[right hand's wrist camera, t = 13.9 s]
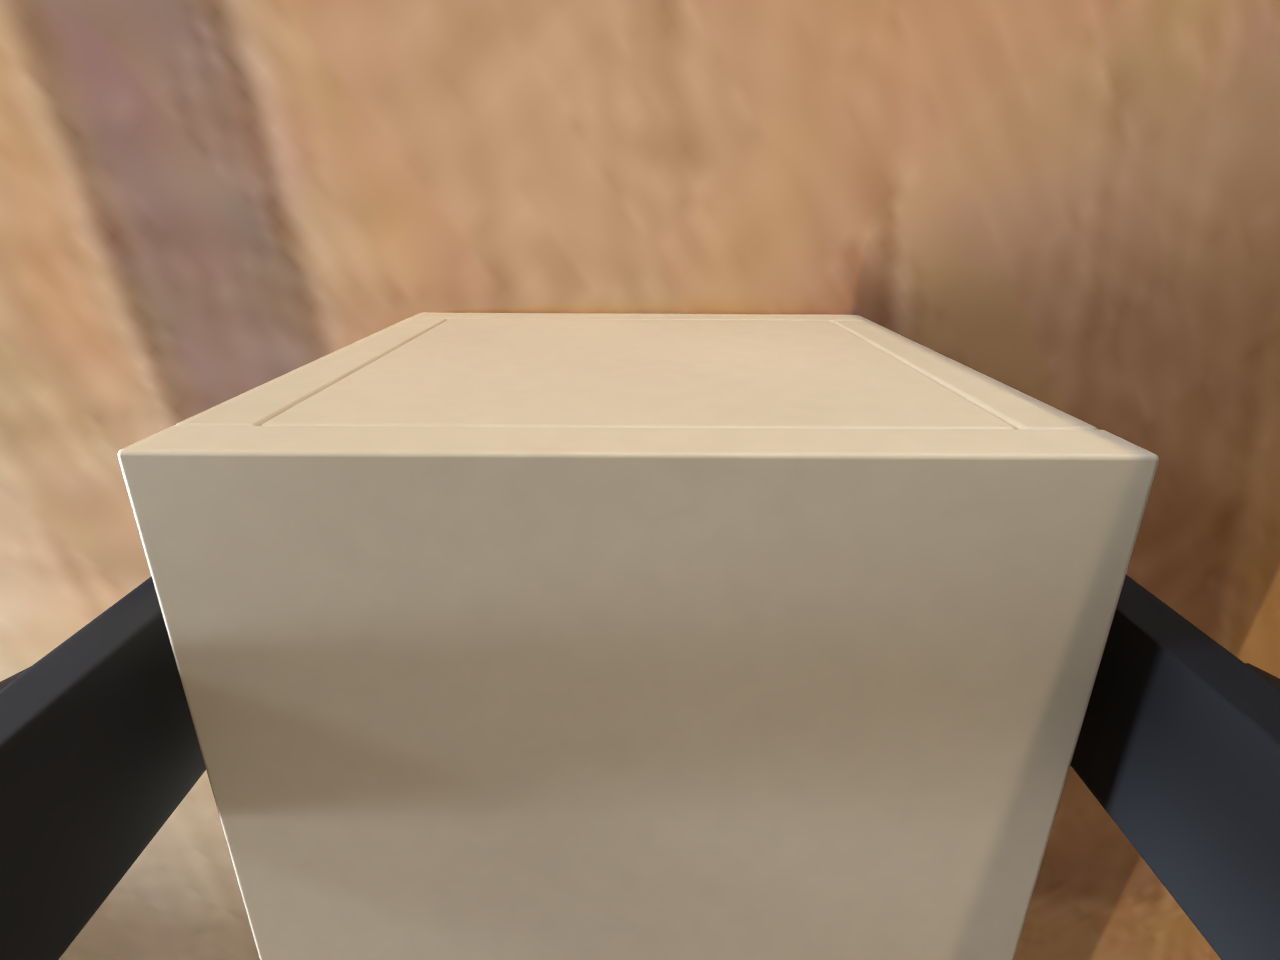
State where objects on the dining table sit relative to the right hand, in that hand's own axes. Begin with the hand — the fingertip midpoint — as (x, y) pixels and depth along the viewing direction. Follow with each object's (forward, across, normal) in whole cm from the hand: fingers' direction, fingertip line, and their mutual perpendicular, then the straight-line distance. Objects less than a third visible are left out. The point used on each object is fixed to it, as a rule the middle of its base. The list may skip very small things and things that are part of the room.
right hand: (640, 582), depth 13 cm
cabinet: (+7, 0, -6) cm, 10 cm away
